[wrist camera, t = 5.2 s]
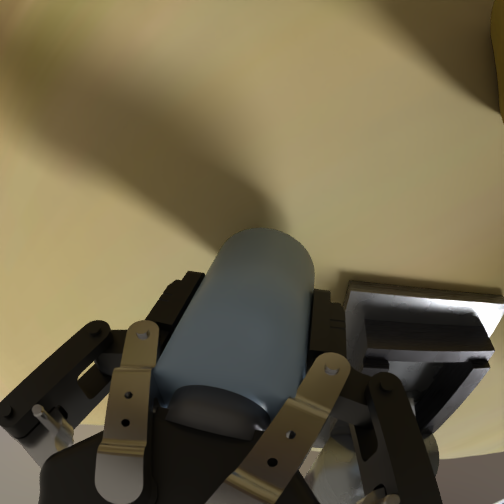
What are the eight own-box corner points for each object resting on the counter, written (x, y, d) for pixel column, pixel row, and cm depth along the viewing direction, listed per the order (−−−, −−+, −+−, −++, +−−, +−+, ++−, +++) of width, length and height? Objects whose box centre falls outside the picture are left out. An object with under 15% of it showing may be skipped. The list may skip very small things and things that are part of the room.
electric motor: (349, 280, 17) (354, 519, 6) (502, 295, 15) (571, 457, 4) (297, 445, 29) (279, 545, 18) (392, 448, 28) (390, 543, 16)
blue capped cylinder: (215, 222, 14) (110, 378, 7) (321, 234, 14) (309, 426, 6) (219, 302, 17) (154, 448, 9) (307, 315, 16) (284, 479, 8)
